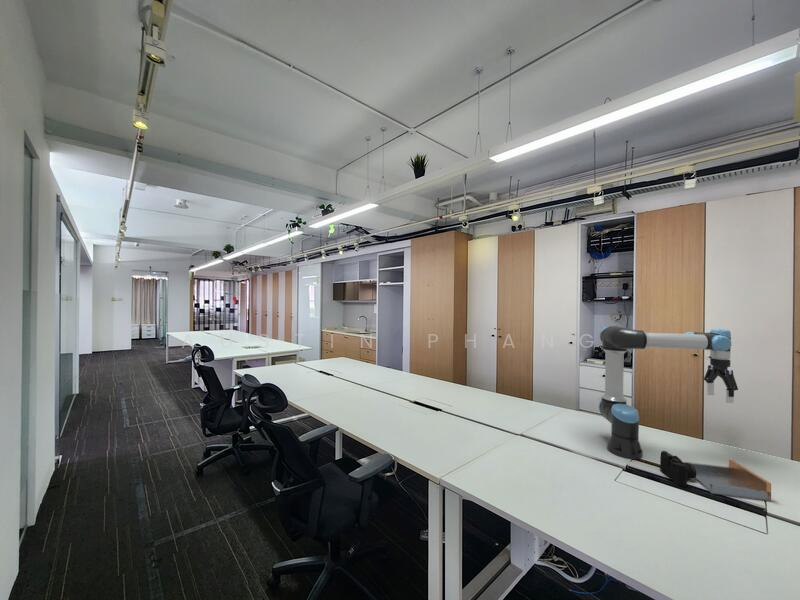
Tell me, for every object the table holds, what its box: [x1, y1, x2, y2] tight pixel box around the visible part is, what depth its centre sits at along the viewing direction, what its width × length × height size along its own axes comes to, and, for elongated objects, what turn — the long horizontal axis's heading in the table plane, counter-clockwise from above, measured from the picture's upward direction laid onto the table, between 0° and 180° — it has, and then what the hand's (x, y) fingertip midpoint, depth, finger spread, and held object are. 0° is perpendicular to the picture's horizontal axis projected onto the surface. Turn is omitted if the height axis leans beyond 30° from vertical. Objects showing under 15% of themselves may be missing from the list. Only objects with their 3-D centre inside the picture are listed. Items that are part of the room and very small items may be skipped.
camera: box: [659, 450, 696, 488], centre depth 141 cm, size 14×11×10 cm
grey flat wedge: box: [682, 458, 772, 502], centre depth 138 cm, size 20×19×7 cm
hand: (719, 398), depth 167 cm, fingers open, 13 cm apart
